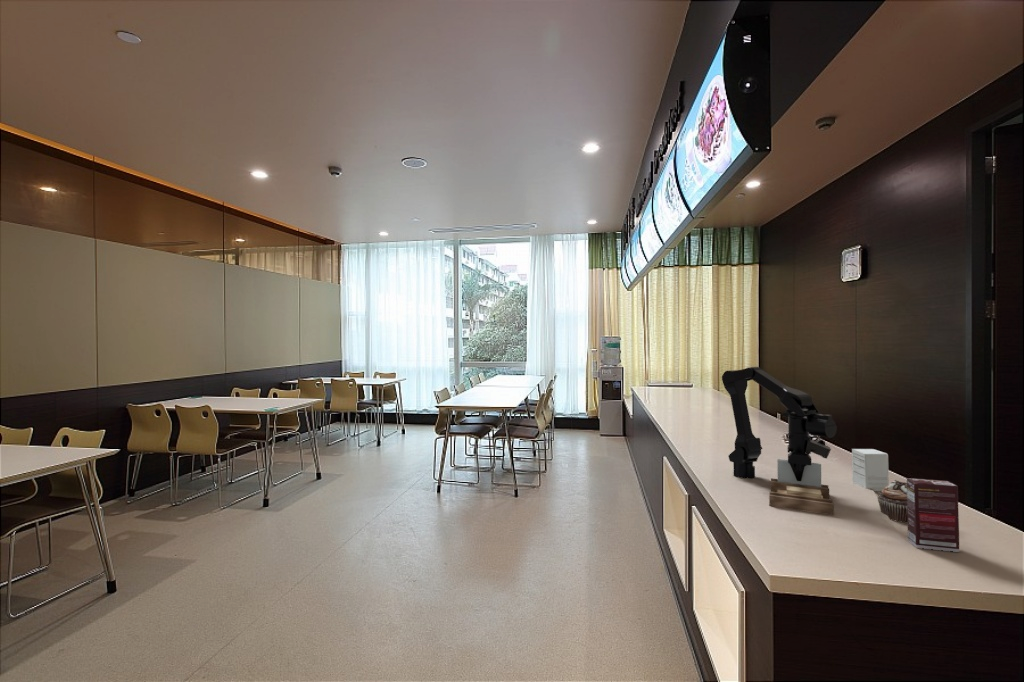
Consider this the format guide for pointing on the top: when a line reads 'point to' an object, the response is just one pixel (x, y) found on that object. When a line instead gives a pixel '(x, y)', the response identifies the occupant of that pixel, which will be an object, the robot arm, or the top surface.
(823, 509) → the rack
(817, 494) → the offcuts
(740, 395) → the robot arm
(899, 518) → the cupcake
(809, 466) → the panel
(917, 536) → the supplement box
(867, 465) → the supplement box
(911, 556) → the top surface
